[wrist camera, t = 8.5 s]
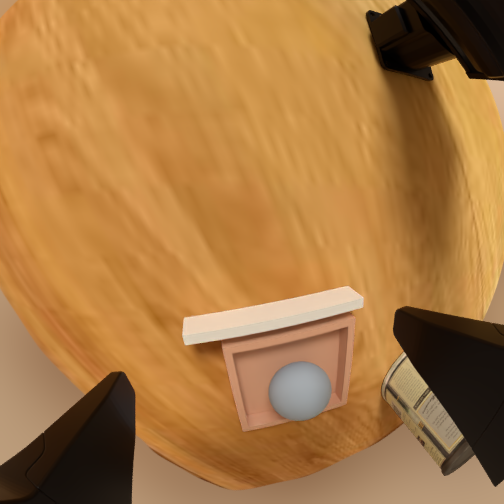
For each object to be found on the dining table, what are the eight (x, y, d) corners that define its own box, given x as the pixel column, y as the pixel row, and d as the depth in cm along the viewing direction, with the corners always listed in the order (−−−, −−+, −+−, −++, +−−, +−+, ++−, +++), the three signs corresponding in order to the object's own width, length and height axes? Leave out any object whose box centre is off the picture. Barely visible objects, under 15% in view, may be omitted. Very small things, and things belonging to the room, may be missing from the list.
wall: (347, 285, 21) (363, 297, 19) (347, 294, 21) (363, 307, 19) (184, 317, 19) (182, 335, 17) (186, 326, 20) (185, 345, 17)
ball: (317, 342, 21) (345, 379, 17) (316, 384, 23) (339, 420, 18) (258, 357, 21) (276, 400, 16) (264, 398, 22) (280, 439, 17)
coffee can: (452, 344, 27) (521, 398, 14) (406, 404, 28) (461, 468, 15) (421, 322, 24) (512, 393, 11) (364, 396, 26) (428, 484, 12)
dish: (343, 306, 21) (355, 317, 19) (337, 391, 24) (346, 404, 22) (220, 332, 20) (222, 348, 18) (239, 416, 23) (242, 431, 21)
